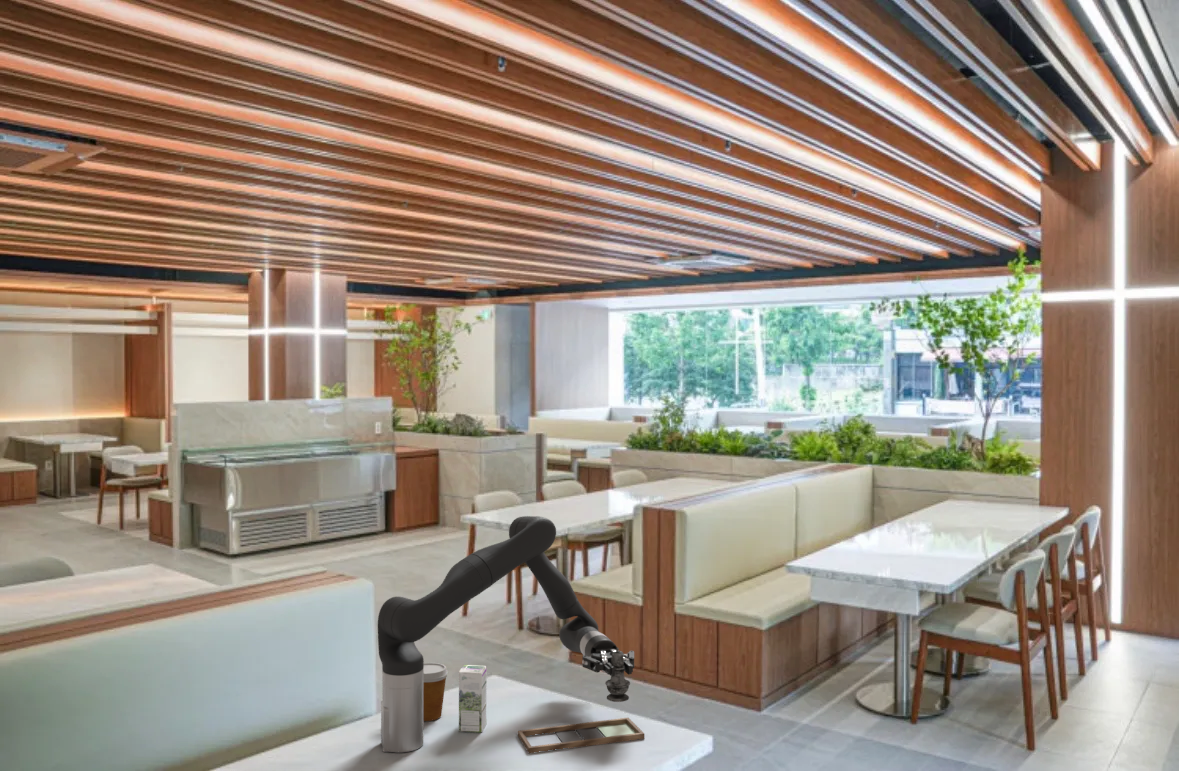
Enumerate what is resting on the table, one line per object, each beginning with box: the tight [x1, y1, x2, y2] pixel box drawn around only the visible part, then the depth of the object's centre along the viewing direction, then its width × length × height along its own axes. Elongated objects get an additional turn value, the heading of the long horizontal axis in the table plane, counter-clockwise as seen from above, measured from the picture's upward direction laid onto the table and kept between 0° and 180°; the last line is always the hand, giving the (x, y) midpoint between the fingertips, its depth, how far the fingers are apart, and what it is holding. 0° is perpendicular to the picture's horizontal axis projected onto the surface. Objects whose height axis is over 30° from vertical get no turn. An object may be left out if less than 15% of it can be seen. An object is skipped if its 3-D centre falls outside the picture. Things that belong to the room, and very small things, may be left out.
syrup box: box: [458, 664, 488, 734], centre depth 213 cm, size 6×6×14 cm
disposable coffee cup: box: [423, 662, 449, 722], centre depth 221 cm, size 10×10×12 cm
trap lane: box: [517, 717, 645, 754], centre depth 208 cm, size 28×11×1 cm, turn 108°
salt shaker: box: [604, 646, 631, 703], centre depth 211 cm, size 6×6×12 cm
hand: (621, 671), depth 208 cm, fingers closed on salt shaker, 3 cm apart
